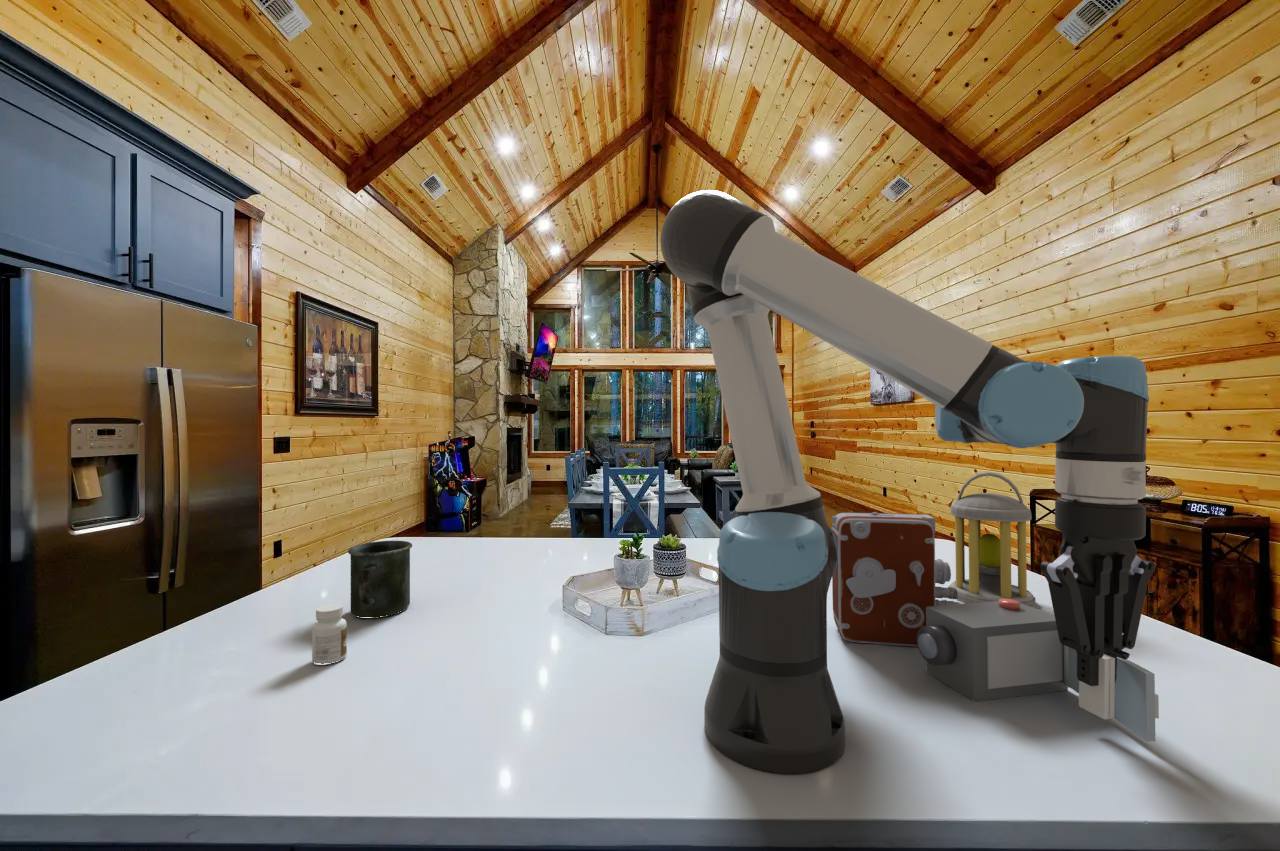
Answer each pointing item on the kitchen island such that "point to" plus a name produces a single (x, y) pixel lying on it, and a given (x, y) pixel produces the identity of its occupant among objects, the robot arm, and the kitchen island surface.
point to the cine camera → (886, 577)
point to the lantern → (990, 546)
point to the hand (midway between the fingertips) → (1096, 711)
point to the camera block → (993, 649)
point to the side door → (1125, 694)
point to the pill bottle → (329, 634)
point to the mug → (380, 578)
